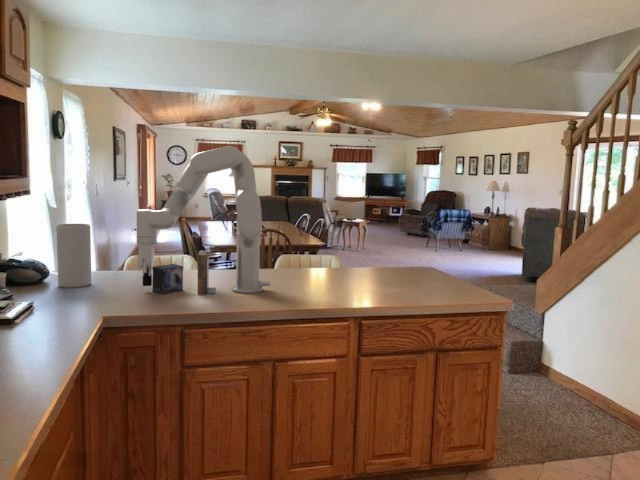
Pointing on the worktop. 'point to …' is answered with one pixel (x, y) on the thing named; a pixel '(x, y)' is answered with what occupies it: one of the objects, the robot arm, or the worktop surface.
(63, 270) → the cylinder vase
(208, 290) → the metal bookend
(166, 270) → the small box
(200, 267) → the walnut block
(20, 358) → the worktop surface
